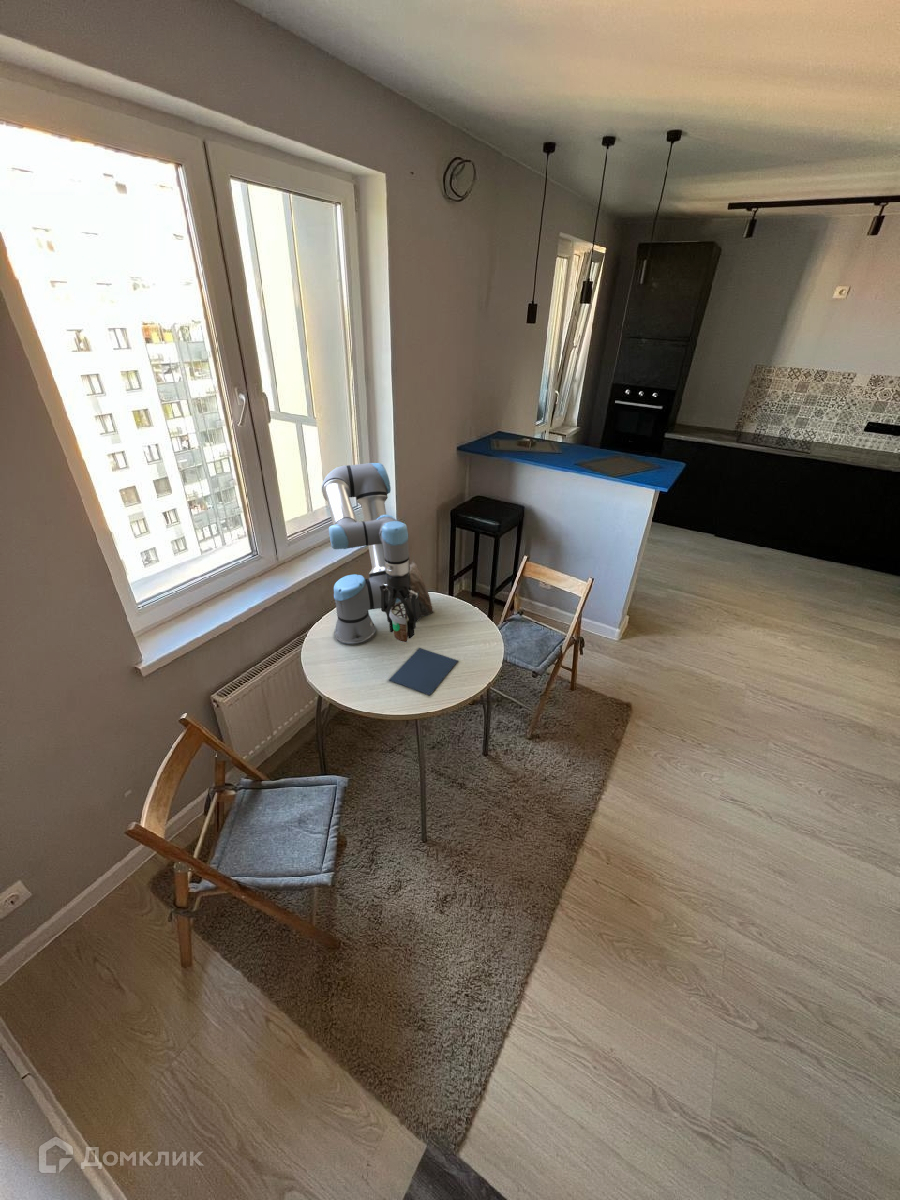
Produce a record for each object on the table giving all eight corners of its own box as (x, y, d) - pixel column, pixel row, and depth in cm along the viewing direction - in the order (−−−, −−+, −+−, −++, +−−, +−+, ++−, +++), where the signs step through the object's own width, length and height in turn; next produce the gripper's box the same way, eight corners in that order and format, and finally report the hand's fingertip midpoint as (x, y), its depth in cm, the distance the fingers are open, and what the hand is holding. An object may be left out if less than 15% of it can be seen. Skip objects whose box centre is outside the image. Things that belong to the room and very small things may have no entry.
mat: (389, 680, 166) (389, 679, 166) (419, 648, 181) (419, 647, 181) (430, 695, 160) (430, 694, 160) (458, 661, 175) (458, 660, 175)
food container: (393, 622, 169) (392, 597, 164) (411, 623, 169) (410, 598, 164) (387, 644, 158) (385, 618, 153) (406, 645, 158) (405, 619, 153)
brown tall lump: (406, 621, 196) (403, 578, 186) (393, 607, 206) (390, 564, 195) (434, 613, 202) (433, 570, 191) (420, 599, 211) (418, 557, 201)
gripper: (365, 569, 153) (371, 631, 164) (418, 584, 144) (421, 647, 156) (379, 560, 158) (385, 620, 170) (431, 573, 150) (433, 635, 162)
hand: (402, 633), depth 163 cm, fingers closed on food container, 7 cm apart
